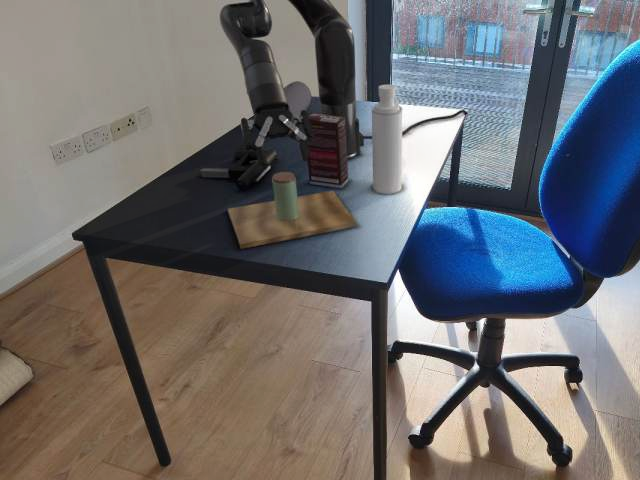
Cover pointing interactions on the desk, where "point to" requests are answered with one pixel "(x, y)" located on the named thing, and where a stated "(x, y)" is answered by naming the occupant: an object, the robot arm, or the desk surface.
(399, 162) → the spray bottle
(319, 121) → the supplement box
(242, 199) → the desk surface
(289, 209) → the salt pot
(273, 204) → the oak board
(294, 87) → the bluetooth speaker
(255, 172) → the door handle
